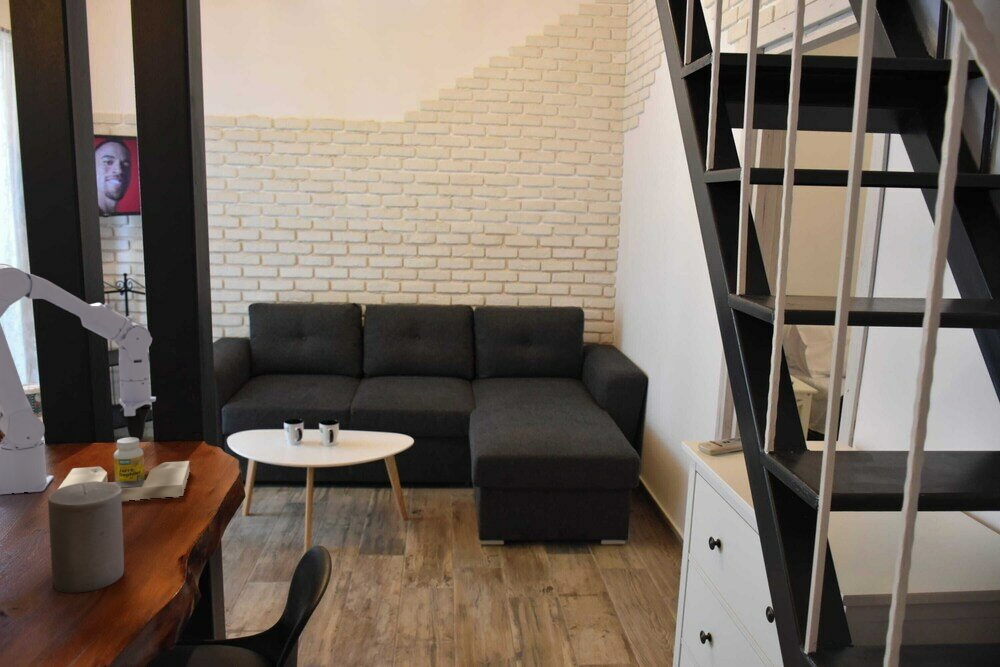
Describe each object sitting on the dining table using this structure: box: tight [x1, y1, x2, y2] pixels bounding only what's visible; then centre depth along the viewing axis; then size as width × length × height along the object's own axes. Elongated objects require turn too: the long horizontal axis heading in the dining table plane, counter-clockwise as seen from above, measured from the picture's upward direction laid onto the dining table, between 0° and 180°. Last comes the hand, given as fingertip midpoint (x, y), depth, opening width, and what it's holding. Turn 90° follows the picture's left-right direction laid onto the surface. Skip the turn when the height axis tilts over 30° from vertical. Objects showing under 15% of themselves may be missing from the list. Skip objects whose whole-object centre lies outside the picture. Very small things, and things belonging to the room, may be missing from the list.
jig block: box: [57, 460, 191, 502], centre depth 145 cm, size 22×14×3 cm, turn 108°
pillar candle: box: [47, 481, 125, 594], centre depth 109 cm, size 10×10×15 cm
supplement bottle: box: [113, 436, 146, 482], centre depth 145 cm, size 5×5×10 cm
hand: (136, 439), depth 157 cm, fingers closed
